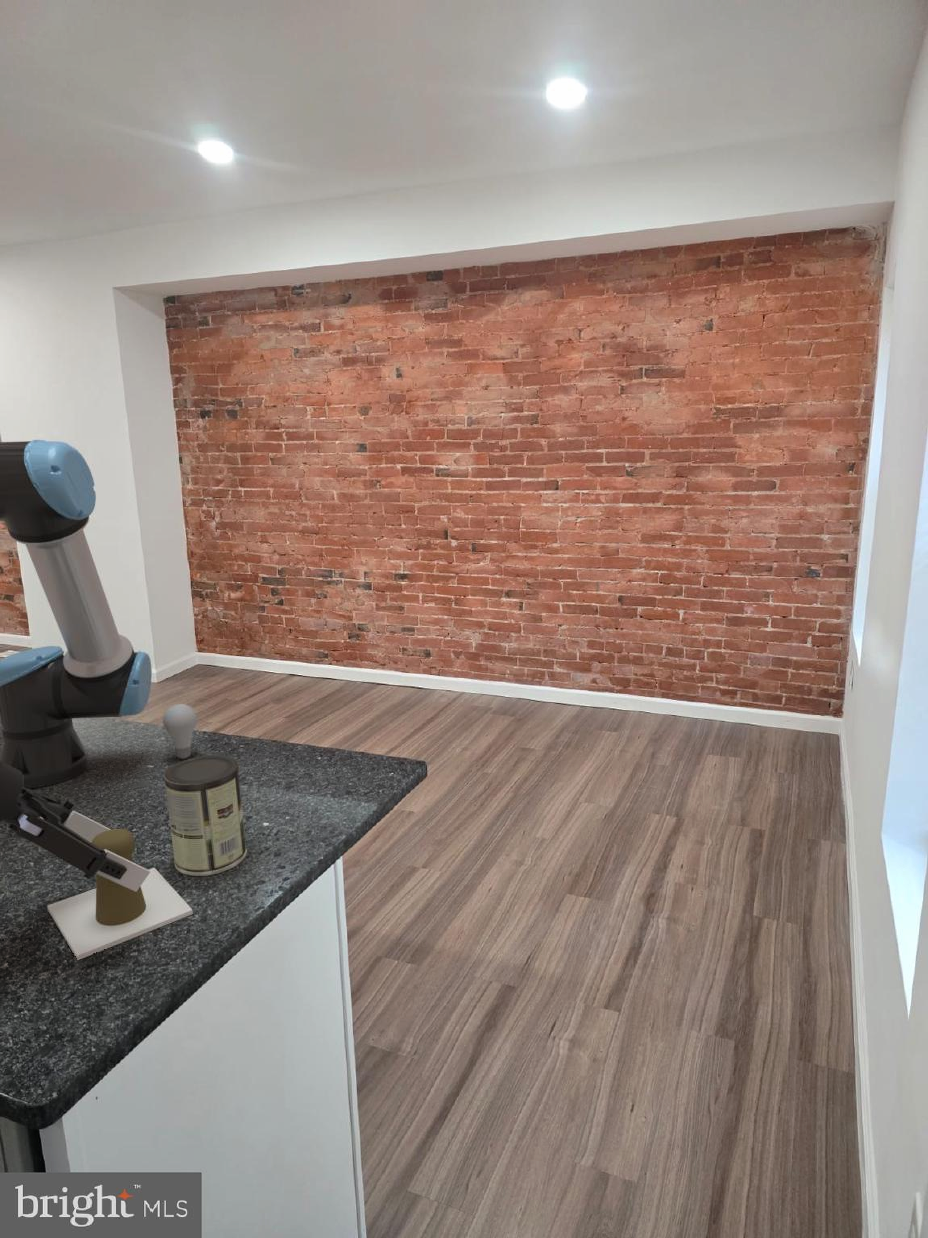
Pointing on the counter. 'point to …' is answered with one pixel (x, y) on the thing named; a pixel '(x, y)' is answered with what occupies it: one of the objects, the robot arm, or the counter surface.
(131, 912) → the cork
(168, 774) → the coffee can
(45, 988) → the counter surface
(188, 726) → the lightbulb
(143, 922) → the white pad
